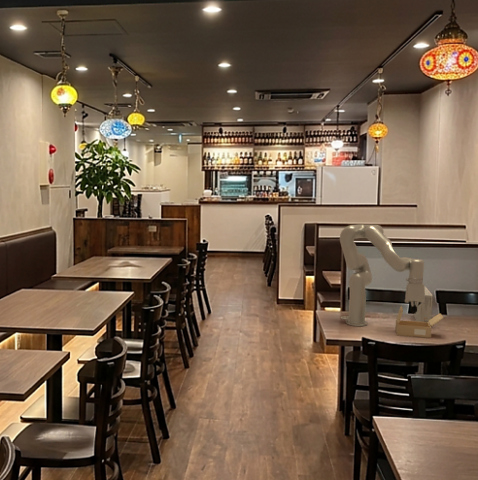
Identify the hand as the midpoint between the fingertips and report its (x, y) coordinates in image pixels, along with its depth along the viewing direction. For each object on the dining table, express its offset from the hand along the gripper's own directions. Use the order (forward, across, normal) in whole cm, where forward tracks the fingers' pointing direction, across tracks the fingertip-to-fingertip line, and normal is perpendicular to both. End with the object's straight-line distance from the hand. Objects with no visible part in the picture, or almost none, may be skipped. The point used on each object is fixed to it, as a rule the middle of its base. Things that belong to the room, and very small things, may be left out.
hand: (413, 313), depth 301 cm
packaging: (+12, +9, +30) cm, 34 cm away
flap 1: (+6, -9, 0) cm, 10 cm away
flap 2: (+6, +9, 0) cm, 10 cm away
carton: (+12, 0, 0) cm, 12 cm away
